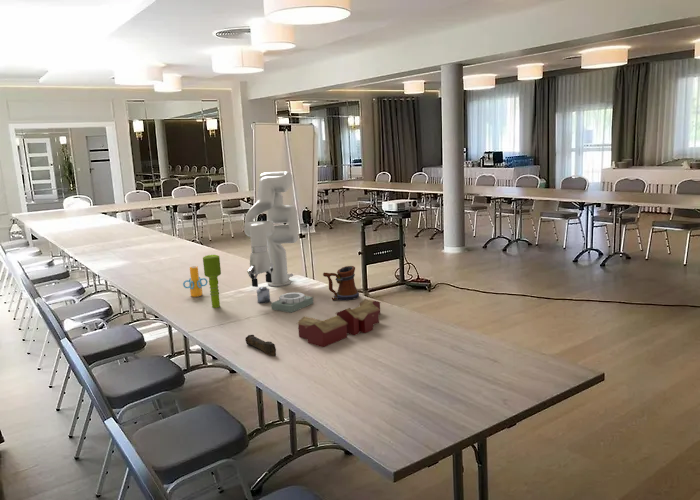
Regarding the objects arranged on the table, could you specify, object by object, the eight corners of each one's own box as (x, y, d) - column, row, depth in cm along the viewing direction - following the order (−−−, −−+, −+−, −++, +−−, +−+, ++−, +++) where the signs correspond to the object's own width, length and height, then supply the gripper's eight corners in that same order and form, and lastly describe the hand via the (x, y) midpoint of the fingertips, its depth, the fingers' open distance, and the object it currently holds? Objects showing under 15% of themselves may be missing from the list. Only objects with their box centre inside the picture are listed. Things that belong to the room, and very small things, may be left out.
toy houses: (328, 349, 215) (326, 323, 213) (291, 338, 229) (289, 314, 227) (402, 317, 247) (401, 294, 245) (366, 309, 261) (365, 288, 259)
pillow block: (293, 300, 281) (292, 290, 280) (313, 303, 275) (312, 292, 274) (271, 309, 268) (270, 298, 267) (291, 312, 262) (290, 301, 261)
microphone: (220, 309, 273) (215, 257, 268) (205, 308, 274) (199, 257, 270) (227, 304, 281) (222, 253, 276) (212, 304, 282) (207, 253, 277)
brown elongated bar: (245, 345, 224) (244, 334, 223) (254, 342, 226) (253, 331, 225) (268, 359, 209) (267, 347, 208) (278, 356, 211) (277, 344, 210)
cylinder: (200, 298, 293) (197, 269, 290) (181, 298, 295) (178, 269, 292) (211, 292, 304) (208, 264, 301) (192, 292, 306) (189, 264, 304)
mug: (331, 304, 271) (329, 273, 268) (319, 299, 280) (317, 269, 277) (363, 297, 280) (362, 267, 277) (351, 292, 289) (349, 263, 286)
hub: (263, 299, 286) (262, 285, 284) (272, 300, 282) (271, 286, 281) (255, 302, 281) (253, 288, 279) (264, 304, 277) (263, 290, 276)
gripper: (265, 246, 285) (268, 280, 288) (240, 251, 271) (243, 287, 274) (277, 246, 281) (279, 281, 284) (252, 252, 267) (255, 289, 270)
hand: (262, 284), depth 279 cm, fingers open, 9 cm apart
